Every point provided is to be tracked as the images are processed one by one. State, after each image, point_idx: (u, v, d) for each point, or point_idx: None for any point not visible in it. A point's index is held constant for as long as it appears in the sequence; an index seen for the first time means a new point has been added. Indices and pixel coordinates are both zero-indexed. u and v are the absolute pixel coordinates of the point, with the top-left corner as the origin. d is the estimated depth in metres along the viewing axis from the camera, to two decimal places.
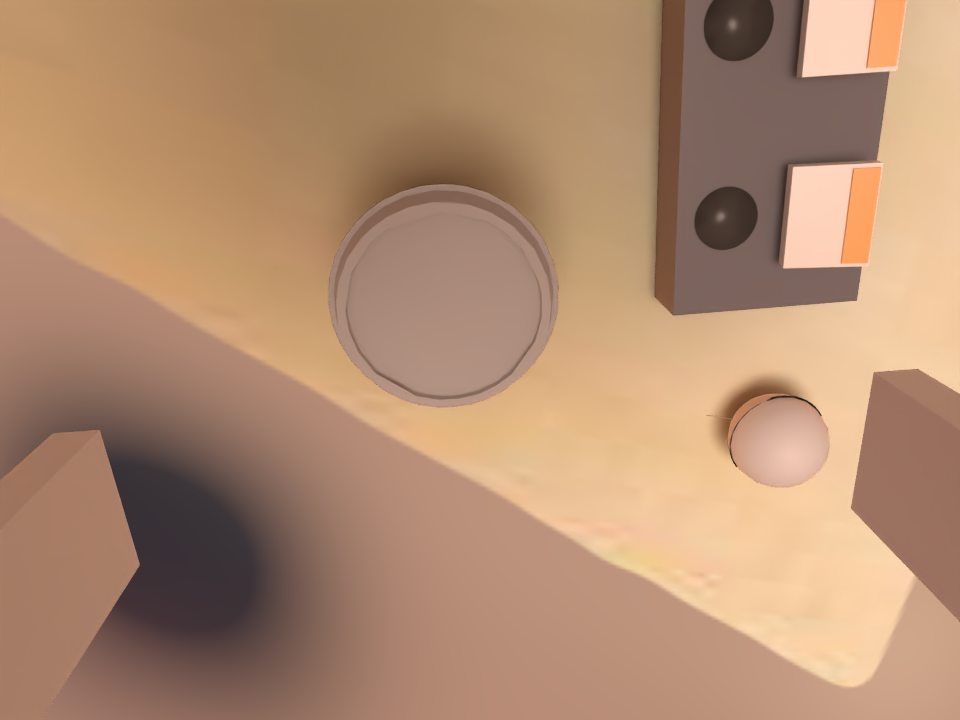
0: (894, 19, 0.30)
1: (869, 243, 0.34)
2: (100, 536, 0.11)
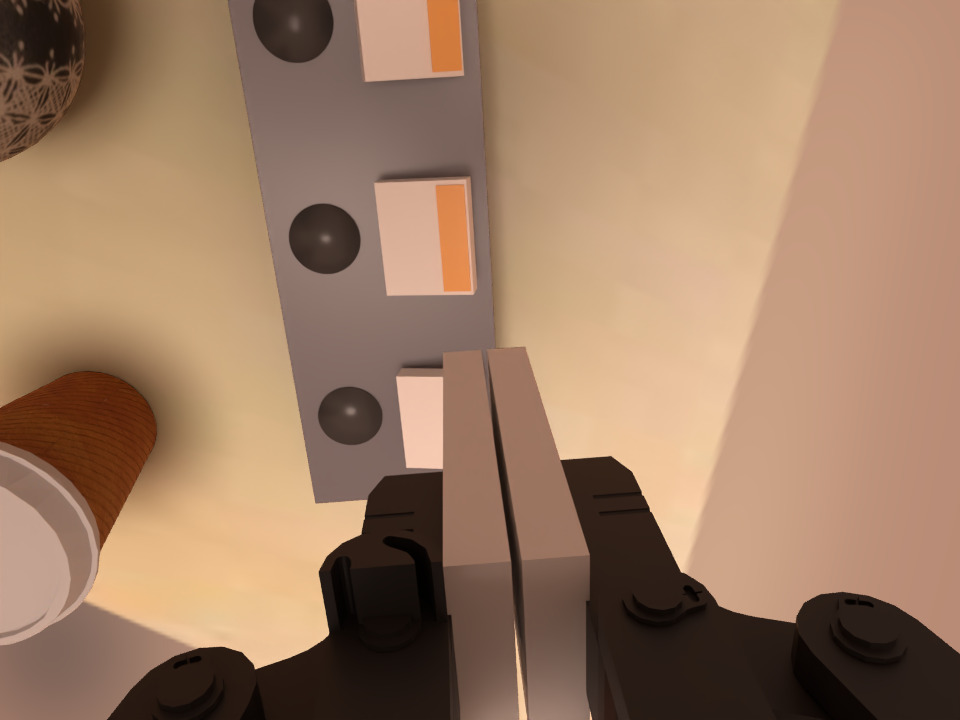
0: (461, 247, 0.30)
1: None
2: None
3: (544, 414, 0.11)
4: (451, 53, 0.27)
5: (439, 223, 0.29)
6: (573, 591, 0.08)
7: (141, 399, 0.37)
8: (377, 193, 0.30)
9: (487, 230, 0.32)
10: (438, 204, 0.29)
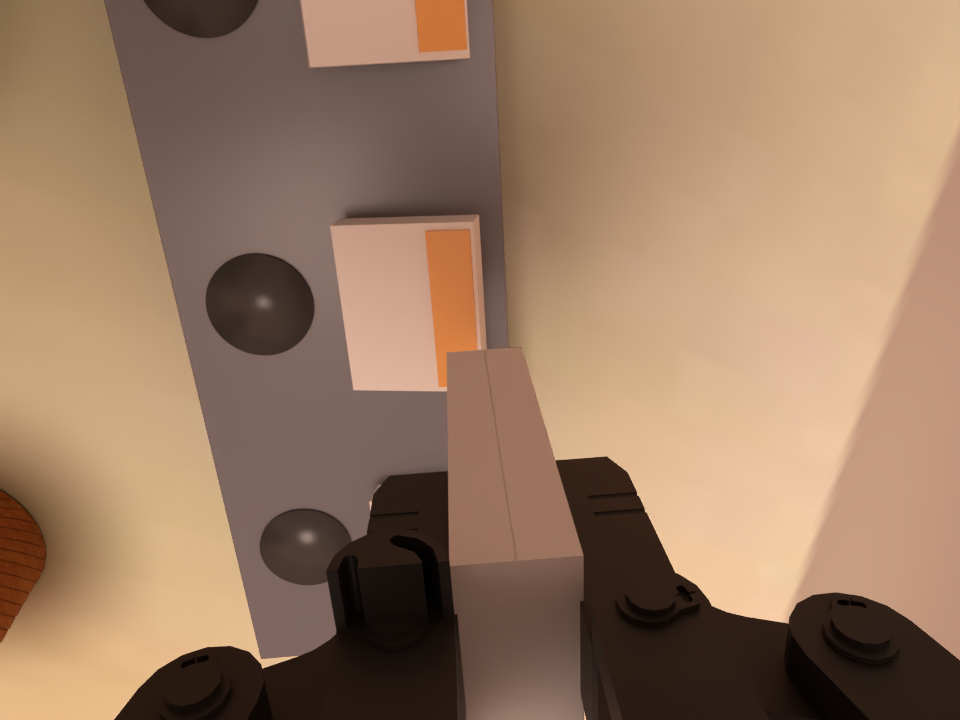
0: (465, 323, 0.20)
1: None
2: None
3: (540, 414, 0.11)
4: (449, 21, 0.17)
5: (431, 288, 0.19)
6: (567, 592, 0.08)
7: (20, 510, 0.27)
8: (335, 241, 0.19)
9: (503, 291, 0.21)
10: (430, 259, 0.19)
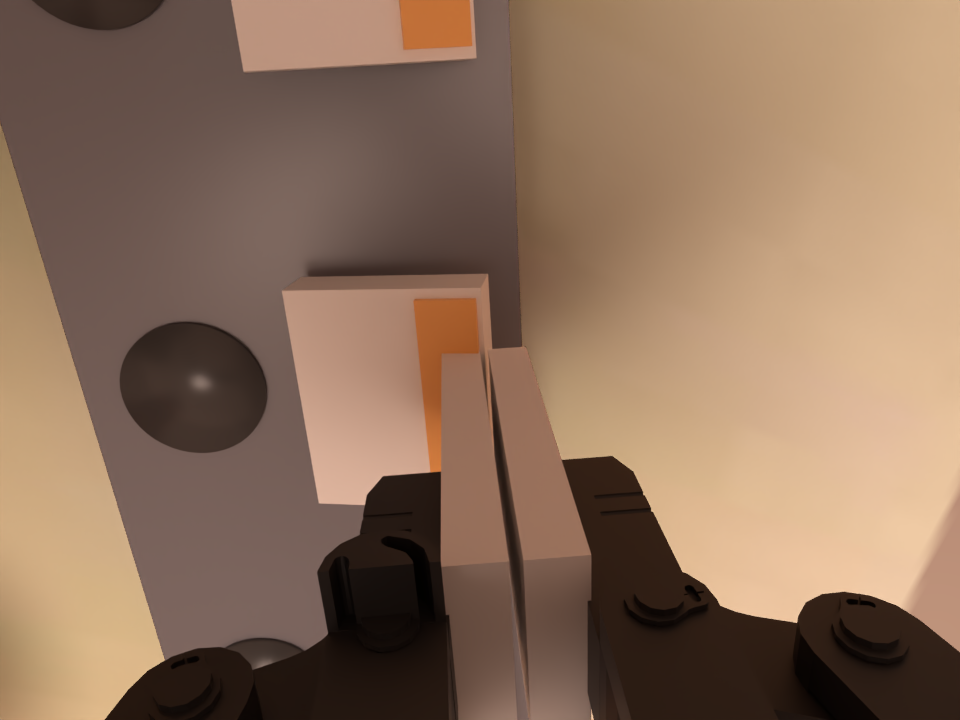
0: None
1: None
2: None
3: (545, 414, 0.11)
4: (447, 5, 0.12)
5: (423, 376, 0.14)
6: (575, 591, 0.08)
7: None
8: (290, 311, 0.14)
9: None
10: (421, 338, 0.13)
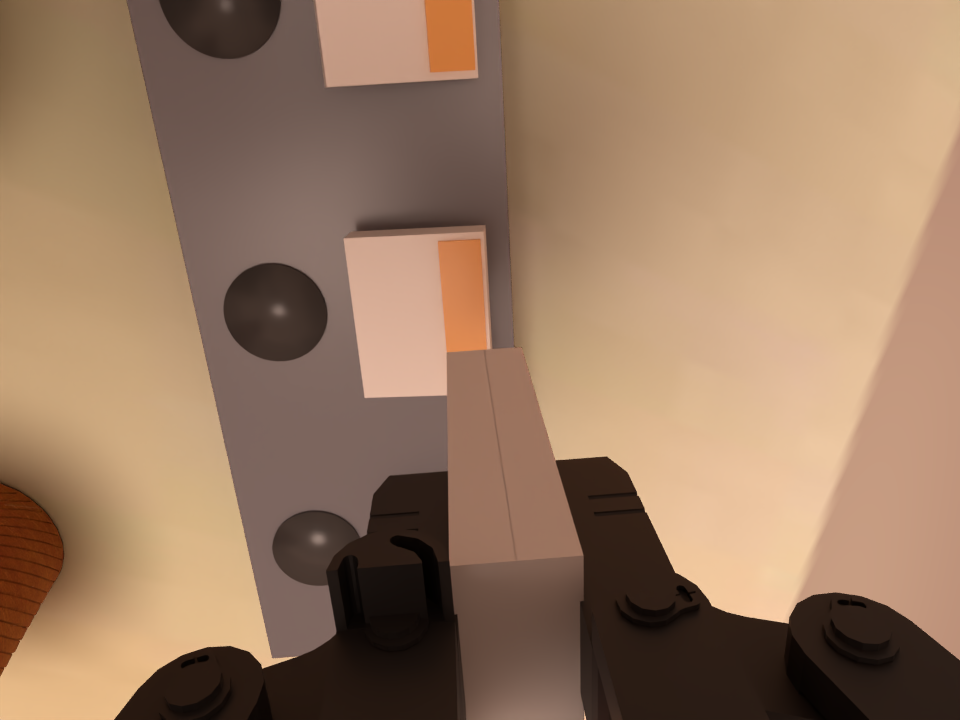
0: (475, 328, 0.20)
1: None
2: None
3: (540, 414, 0.11)
4: (459, 43, 0.18)
5: (443, 296, 0.20)
6: (567, 591, 0.08)
7: (40, 512, 0.28)
8: (349, 253, 0.20)
9: (509, 299, 0.22)
10: (442, 268, 0.20)
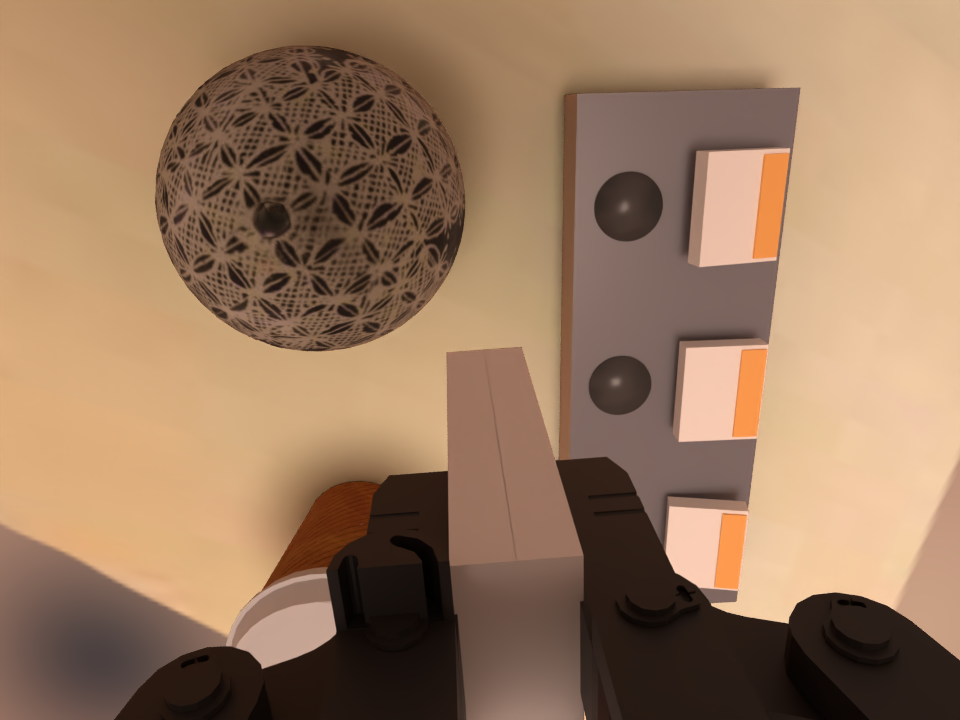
0: (753, 400, 0.34)
1: (738, 574, 0.37)
2: None
3: (540, 414, 0.11)
4: (771, 243, 0.32)
5: (740, 381, 0.33)
6: (567, 592, 0.08)
7: None
8: (687, 356, 0.33)
9: None
10: (742, 365, 0.33)
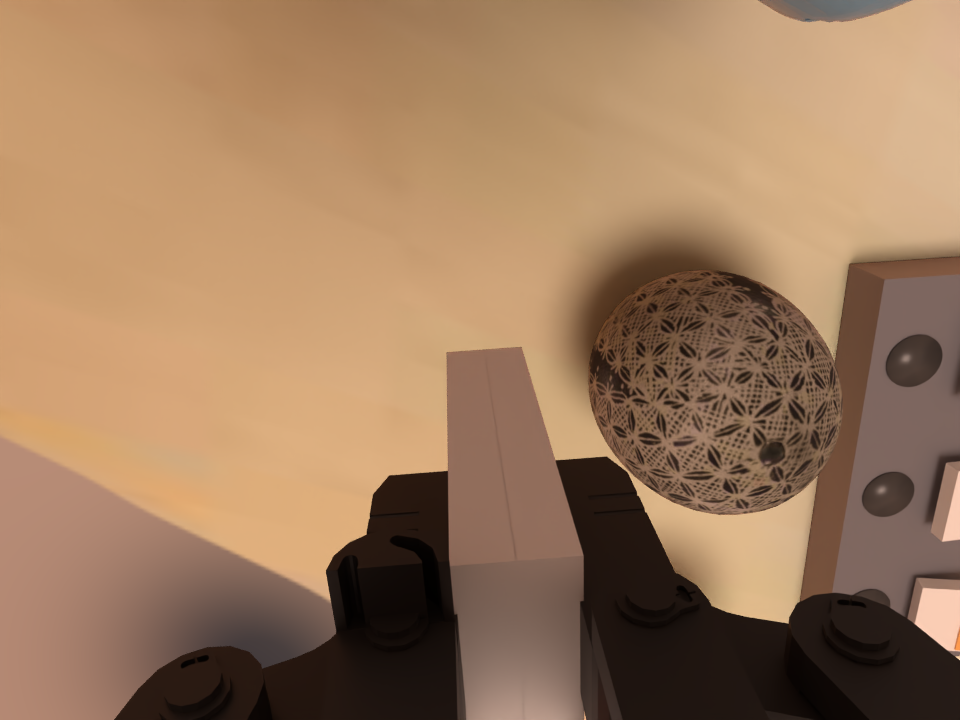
0: None
1: None
2: None
3: (540, 414, 0.11)
4: None
5: None
6: (567, 591, 0.08)
7: None
8: (958, 477, 0.41)
9: None
10: None
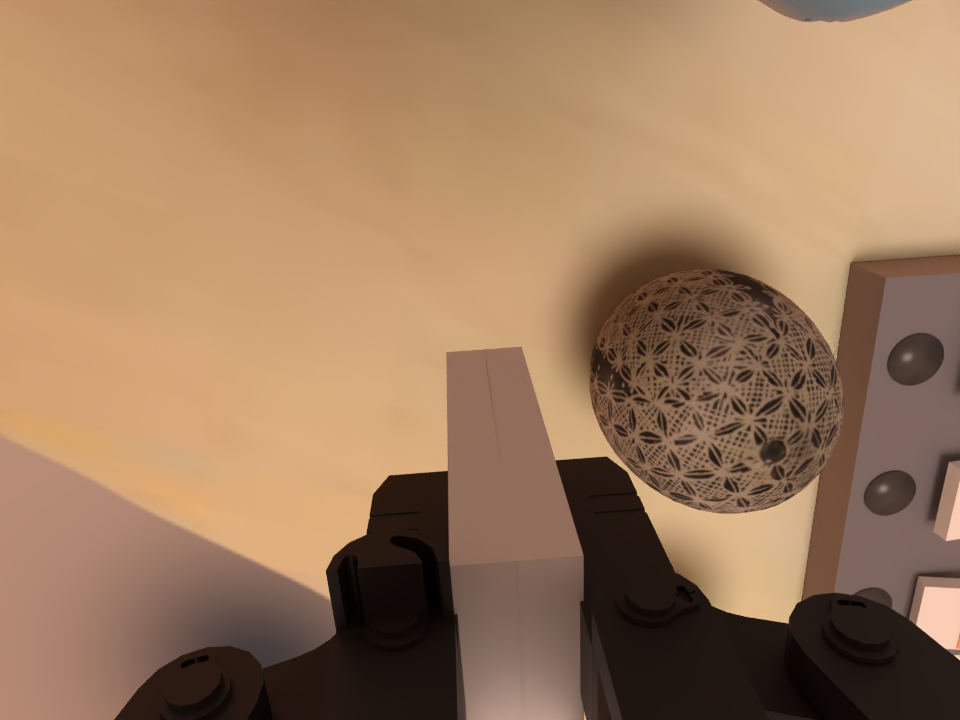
0: None
1: None
2: None
3: (539, 414, 0.11)
4: None
5: None
6: (567, 591, 0.08)
7: None
8: None
9: None
10: None
